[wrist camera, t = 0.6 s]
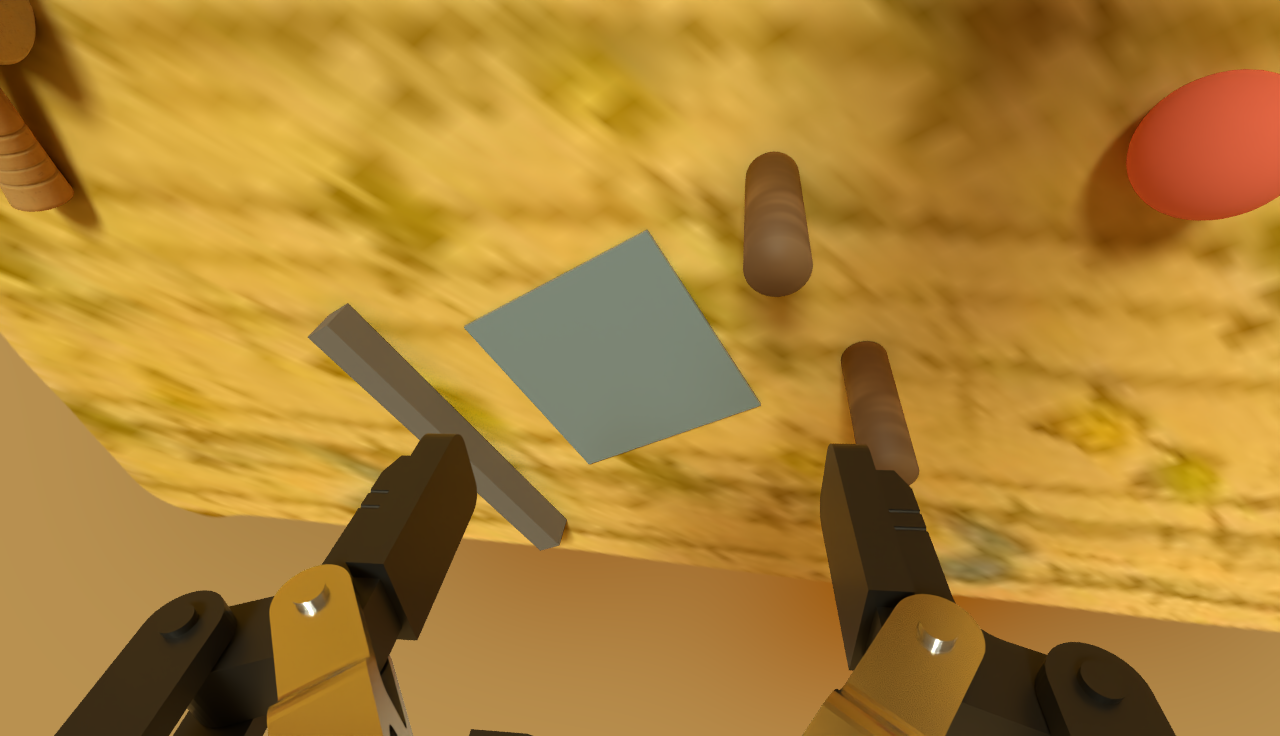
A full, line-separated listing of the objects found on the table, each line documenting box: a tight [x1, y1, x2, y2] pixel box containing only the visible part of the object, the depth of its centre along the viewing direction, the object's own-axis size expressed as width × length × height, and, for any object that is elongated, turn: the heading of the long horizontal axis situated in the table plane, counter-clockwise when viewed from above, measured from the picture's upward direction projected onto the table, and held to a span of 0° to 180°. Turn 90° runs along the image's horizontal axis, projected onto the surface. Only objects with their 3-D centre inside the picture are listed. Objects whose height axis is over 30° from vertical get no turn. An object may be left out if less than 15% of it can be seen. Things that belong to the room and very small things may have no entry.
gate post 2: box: [841, 341, 919, 485], centre depth 33 cm, size 3×3×9 cm
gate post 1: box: [743, 152, 813, 297], centre depth 27 cm, size 3×3×9 cm
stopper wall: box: [308, 304, 567, 550], centre depth 44 cm, size 2×24×2 cm, turn 33°
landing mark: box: [464, 230, 761, 464], centre depth 39 cm, size 14×14×1 cm
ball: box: [1126, 69, 1280, 220], centre depth 24 cm, size 6×6×6 cm
